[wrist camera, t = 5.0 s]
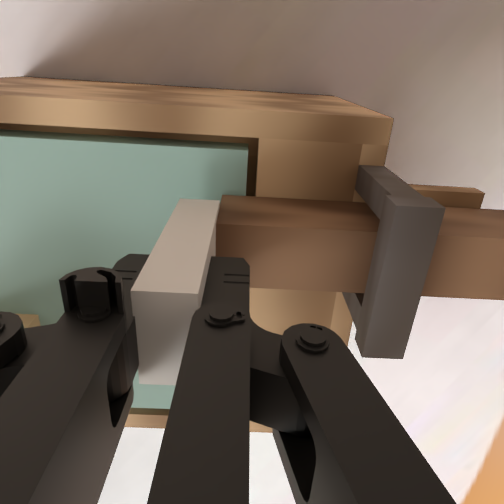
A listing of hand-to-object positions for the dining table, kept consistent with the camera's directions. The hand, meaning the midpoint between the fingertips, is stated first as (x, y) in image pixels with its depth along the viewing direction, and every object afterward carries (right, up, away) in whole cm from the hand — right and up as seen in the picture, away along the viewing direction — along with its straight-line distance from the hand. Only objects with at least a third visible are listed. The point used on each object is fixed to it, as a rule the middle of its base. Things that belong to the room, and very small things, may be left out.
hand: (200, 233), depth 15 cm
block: (+7, 0, +2) cm, 7 cm away
